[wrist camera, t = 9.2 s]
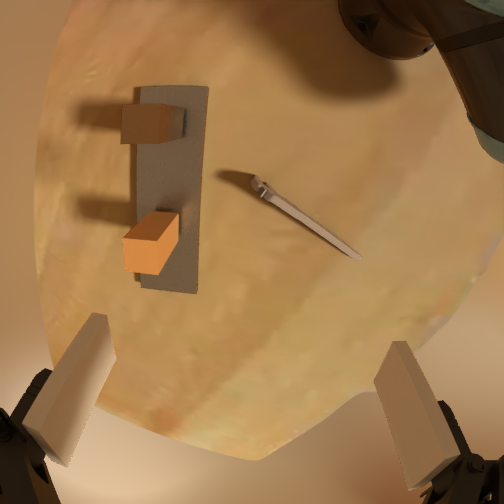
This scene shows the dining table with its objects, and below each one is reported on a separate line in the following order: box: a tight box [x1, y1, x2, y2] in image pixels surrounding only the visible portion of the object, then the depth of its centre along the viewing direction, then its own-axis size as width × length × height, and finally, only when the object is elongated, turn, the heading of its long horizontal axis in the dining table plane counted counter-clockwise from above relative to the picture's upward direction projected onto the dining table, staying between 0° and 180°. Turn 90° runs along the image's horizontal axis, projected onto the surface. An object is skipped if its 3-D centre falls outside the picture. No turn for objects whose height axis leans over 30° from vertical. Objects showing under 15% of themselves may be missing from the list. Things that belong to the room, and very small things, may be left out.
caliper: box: [251, 175, 362, 261], centre depth 40 cm, size 20×1×6 cm, turn 54°
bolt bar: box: [121, 86, 209, 294], centre depth 36 cm, size 9×30×13 cm, turn 175°
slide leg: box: [122, 211, 179, 275], centre depth 36 cm, size 4×4×11 cm
